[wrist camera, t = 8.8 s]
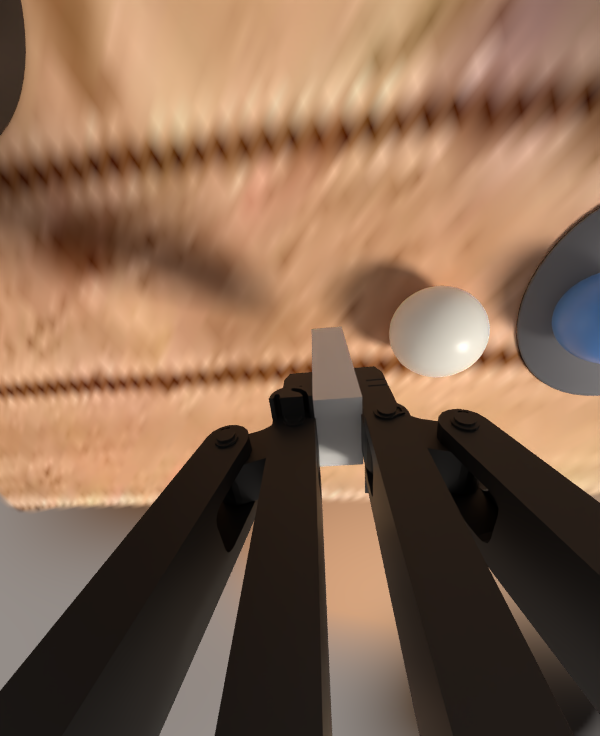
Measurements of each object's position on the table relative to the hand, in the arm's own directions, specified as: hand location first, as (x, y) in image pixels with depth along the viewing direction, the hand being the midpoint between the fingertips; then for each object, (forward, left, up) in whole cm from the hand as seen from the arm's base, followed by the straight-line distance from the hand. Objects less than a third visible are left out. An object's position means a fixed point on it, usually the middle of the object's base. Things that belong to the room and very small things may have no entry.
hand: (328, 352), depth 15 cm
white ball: (+6, +4, -3) cm, 7 cm away
